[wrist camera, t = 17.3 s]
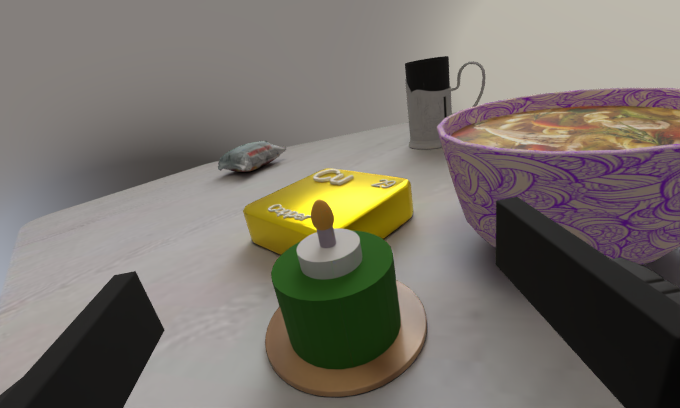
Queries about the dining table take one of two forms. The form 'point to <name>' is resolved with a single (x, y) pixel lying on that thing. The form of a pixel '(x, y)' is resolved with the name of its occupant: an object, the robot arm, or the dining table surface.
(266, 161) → the packaged food
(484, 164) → the bowl of food
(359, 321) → the candle
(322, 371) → the cork trivet
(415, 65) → the glass holder
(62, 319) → the dining table surface
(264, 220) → the element tile
